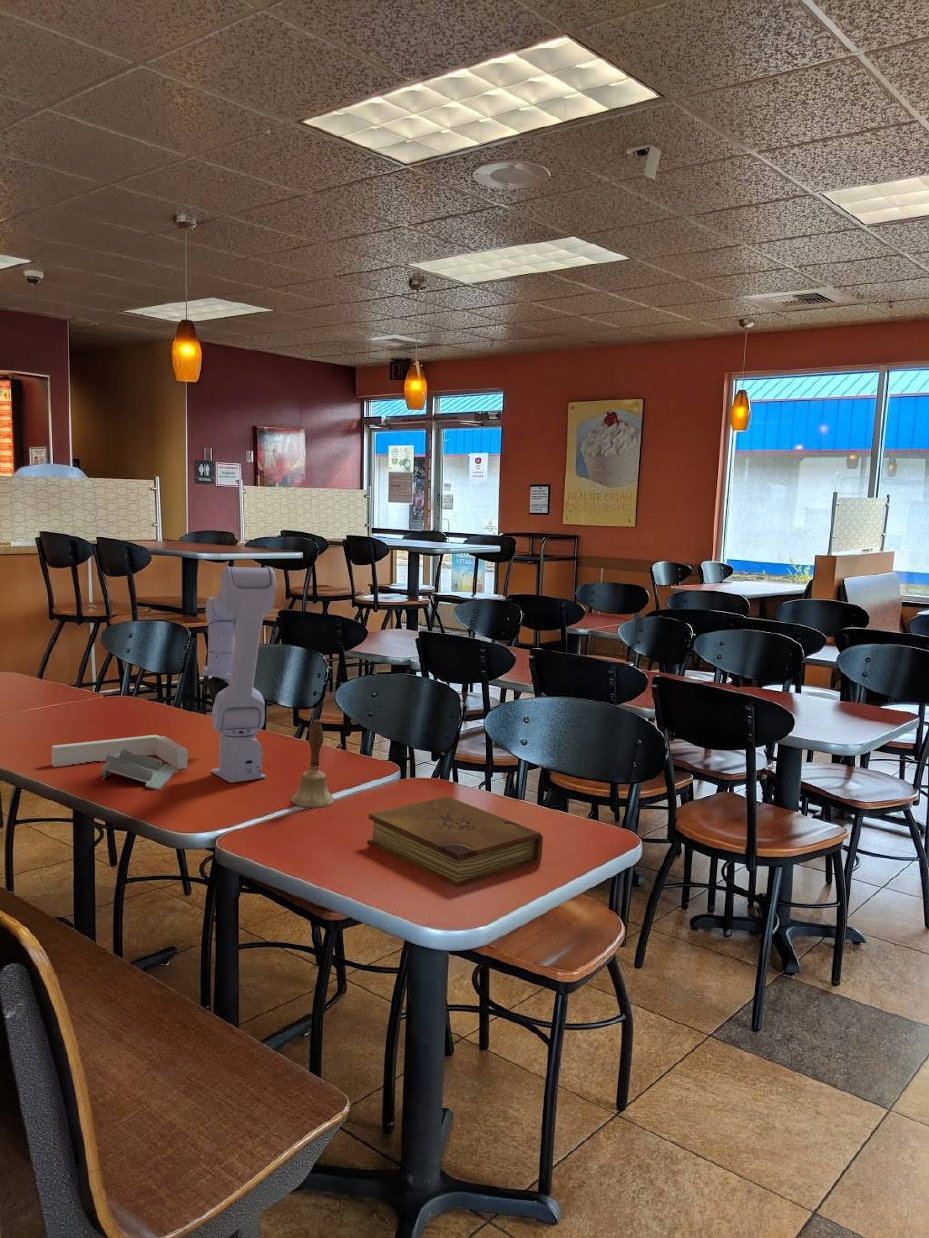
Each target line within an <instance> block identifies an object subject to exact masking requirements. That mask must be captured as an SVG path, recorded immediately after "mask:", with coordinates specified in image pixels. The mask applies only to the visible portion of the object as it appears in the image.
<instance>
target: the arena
mask: <svg viewBox="0 0 929 1238" xmlns="http://www.w3.org/2000/svg"><path fill="white" fill-rule="evenodd" d="M123 749H126V750H128V751H129V752H130V753H132V754H134V755H146V756H148V755H150V756H156V755H157V756H156V757H158V759H160V760H161V761H162V760H163V761H164V762H166V763H167V762H168V763H167V764H168V765H170V764H171V766H174V767H177V769H179V770H183V769H188V748H186V747H184V746H182V745H180V744H179V743H177V742H175V741H174V740H173V739H170V738H169V737H166V736H165V735H163V736H162V735H158V734H152V735H141V736H132V737H122V738H113V739H102V740H94V741H85V742H84V741H83V742H74V743H66V744H55V745H51V765H52V767H53V768H56V767H64V766H73V765H72V764H75V765H80V764H79V763H83V764H86V763H85V762H91V761H100V762H106V758H107V755H111V756H113V757H114V756H115V755H116V754H117V753H119V754H120V753H121V751H122V750H123ZM124 753H125V752H124ZM91 763H92V762H91Z"/></svg>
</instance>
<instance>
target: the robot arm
mask: <svg viewBox="0 0 929 1238" xmlns="http://www.w3.org/2000/svg"><path fill="white" fill-rule="evenodd" d="M220 575H221V576H220V589H219V590H218V592H217V593H216V595H215V597H212V596H209V597H208V598H207V599H206V605H205V618H206V622H207V624H208V635H207V637H208V638H207V639H208V640H207V665H203V666H202V667H203V670H202V671H201V672H202V673H201V675H203V676H206V677H207V676H209V677H211V678H210V679H205V680H204V683H205V685H206V687H207V689H208V691H209V695H210V697H211V703H212V704H211V705H212V711H211V720H212V721H211V722H212V728H213V729H214V731H216V732H217V733H219V749H218V750H219V752H218V755H219V757H218V768H212V769H211V770H210V772H211V773H213V774H214V775H216V776H217V777H220V778H221V779H222V780H225V781H226V782H228V783H230V784H233V783H238V782H244V781H245V782H246V781H251V780H259V779H260V780H261V779H265V778H266V775H265V774H264V773H262V772H263V771H262V769H263V746H262V745H261V743H260V742H259V741H258V739H257V737H256V736H257V734H259V731H260V730H262V728H263V727H264V724H265V719H266V717H265V716H266V715H265V706H266V704H265V703H266V702H265V699H264V697H263V695H262V693H261V692H260V691H259V690H258V689H256V688H255V687H254V683H255V677H256V676H255V675H256V669H257V662H258V661H257V659H258V655H259V645H260V638H261V631H262V626H263V624H264V623H263V622H264V618H265V617H267V615H269V614H270V613H272V611H273V607H274V604H275V597H276V590H277V582H276V581H277V579H276V573H275V571H274V569H273V568H272V567H271V566H268V567H246V566H245V567H244V566H243V567H242V566H241V567H240V566H229V565H225V566H224V568H223V569H222V570H221V574H220Z"/></svg>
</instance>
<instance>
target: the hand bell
mask: <svg viewBox="0 0 929 1238" xmlns="http://www.w3.org/2000/svg"><path fill="white" fill-rule="evenodd" d="M309 730H310V731H309V735H308V736H309V737H308V740H309V747H310V751H311V752H310V764H309V765H310V766H309V770H307V771H305V772H303V773H302V775H301V781H300V785H299V788H298V790H297V791H296V793H295V794H294V795H293V796H292V797H291V799H290V802H291V803H292V804H293V805H295V806H298V807H301V808H311V809H315V808H316V809H317V808H318V809H319V808H326V807H329V806H332V805H333V804H334V803H335V801H336V800H335V798H334V796H333V795H332V794H331V793H330V791H329V790H328V789H329V788H328V786H327V779H326V778H327V775H326V773H325V772H323V771H321V770H320V751H321V749H322V745H323V739H324V730H323V727H322V723H321V720H320V719H313V721H312V725H311V727H310V729H309Z"/></svg>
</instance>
